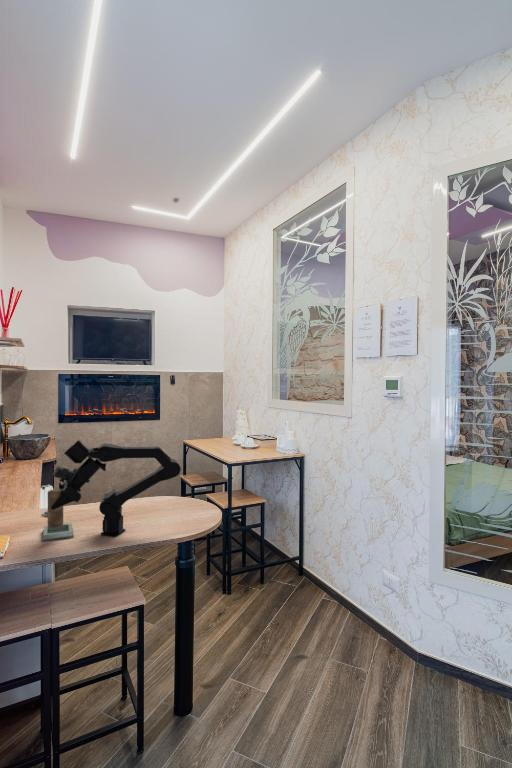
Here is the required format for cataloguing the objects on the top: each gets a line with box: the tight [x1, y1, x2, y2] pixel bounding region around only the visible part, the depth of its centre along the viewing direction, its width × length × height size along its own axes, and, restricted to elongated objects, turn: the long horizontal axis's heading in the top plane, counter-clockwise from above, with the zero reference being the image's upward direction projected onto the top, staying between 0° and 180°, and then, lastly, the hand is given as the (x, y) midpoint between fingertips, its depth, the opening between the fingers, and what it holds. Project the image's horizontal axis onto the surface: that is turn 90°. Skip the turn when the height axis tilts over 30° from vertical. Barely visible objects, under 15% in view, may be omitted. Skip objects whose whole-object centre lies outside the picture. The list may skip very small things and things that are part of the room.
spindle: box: [47, 488, 64, 528], centre depth 150 cm, size 5×5×12 cm
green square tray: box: [42, 522, 74, 542], centre depth 156 cm, size 10×10×2 cm
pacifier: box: [41, 508, 48, 517], centre depth 177 cm, size 7×6×6 cm
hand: (51, 506), depth 150 cm, fingers closed on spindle, 5 cm apart
